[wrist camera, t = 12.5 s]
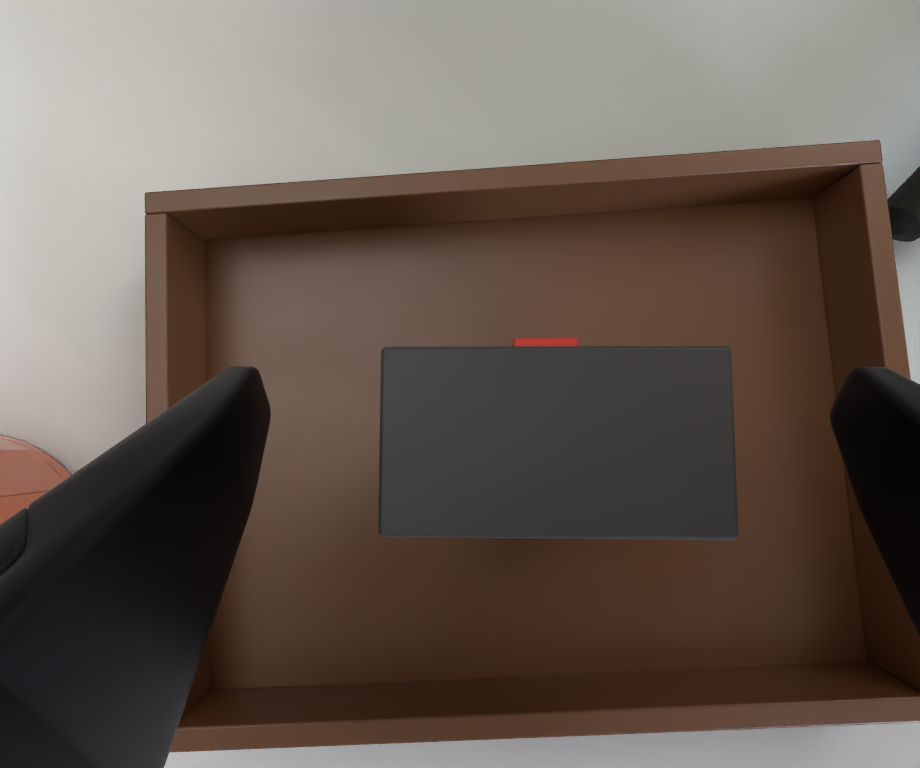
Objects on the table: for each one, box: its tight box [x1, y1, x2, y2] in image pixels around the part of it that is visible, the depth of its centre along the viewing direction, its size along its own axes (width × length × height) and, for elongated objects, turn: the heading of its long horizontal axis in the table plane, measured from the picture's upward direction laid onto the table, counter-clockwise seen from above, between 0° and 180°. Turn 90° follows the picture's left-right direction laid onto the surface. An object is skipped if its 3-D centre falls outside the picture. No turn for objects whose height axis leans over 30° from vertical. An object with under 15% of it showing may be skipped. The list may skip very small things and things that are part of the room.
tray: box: [145, 140, 920, 752], centre depth 16 cm, size 14×19×3 cm
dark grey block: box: [378, 338, 738, 540], centre depth 12 cm, size 3×5×9 cm, turn 90°
